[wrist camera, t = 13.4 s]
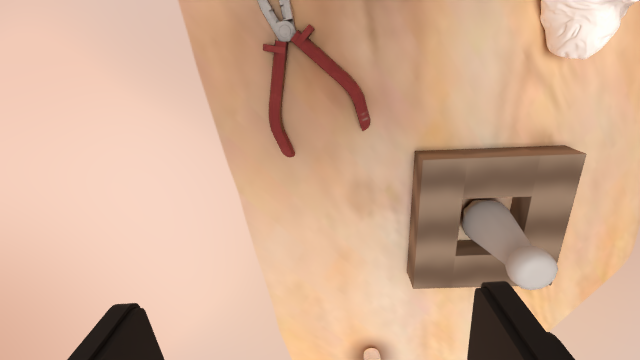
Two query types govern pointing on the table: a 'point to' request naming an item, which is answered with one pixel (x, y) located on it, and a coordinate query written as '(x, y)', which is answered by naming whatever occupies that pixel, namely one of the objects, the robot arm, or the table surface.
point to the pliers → (285, 35)
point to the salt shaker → (508, 244)
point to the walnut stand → (486, 182)
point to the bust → (581, 25)
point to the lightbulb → (371, 354)
